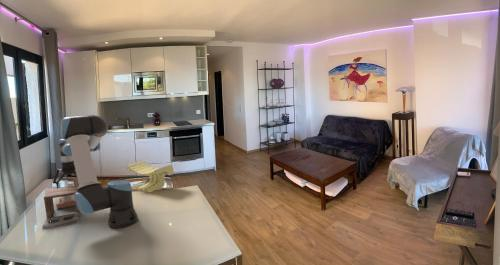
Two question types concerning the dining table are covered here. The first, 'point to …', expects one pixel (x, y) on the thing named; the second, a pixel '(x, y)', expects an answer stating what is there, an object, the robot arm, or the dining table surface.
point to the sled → (66, 204)
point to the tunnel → (50, 207)
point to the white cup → (68, 198)
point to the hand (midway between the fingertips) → (71, 190)
